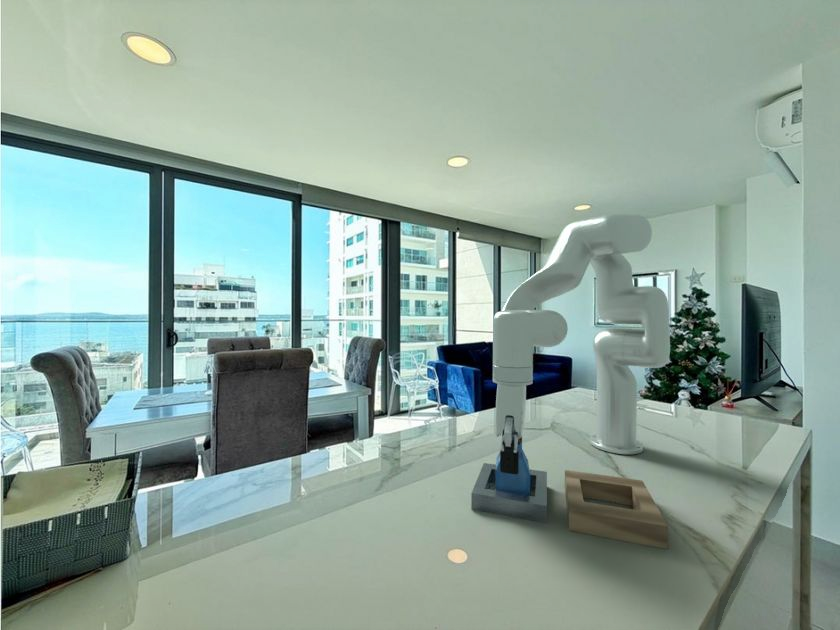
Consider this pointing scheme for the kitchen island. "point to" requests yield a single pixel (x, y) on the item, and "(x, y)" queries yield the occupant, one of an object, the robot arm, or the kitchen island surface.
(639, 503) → the tan square frame
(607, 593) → the kitchen island surface
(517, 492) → the perfume bottle
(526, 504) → the block
